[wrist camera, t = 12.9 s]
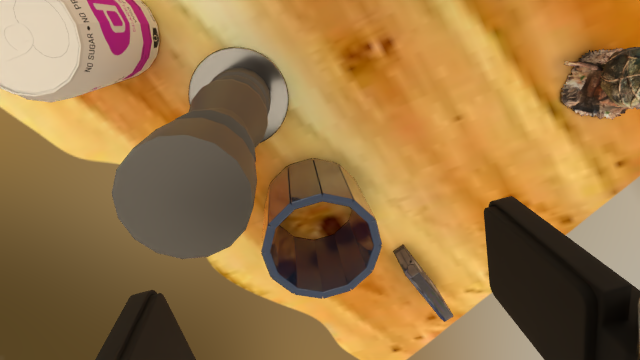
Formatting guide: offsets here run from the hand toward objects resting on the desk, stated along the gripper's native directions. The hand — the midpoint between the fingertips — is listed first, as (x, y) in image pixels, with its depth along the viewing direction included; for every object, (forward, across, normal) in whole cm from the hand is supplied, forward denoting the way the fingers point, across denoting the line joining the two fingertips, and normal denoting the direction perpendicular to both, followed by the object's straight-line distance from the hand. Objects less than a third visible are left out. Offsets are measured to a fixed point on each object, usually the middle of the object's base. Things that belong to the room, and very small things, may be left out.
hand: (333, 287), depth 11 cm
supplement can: (+32, +15, -10) cm, 37 cm away
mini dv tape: (+32, -9, +25) cm, 42 cm away
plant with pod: (+32, -33, +7) cm, 46 cm away
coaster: (+32, +6, -1) cm, 32 cm away
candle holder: (+31, +5, -1) cm, 32 cm away
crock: (+32, +1, +13) cm, 34 cm away
